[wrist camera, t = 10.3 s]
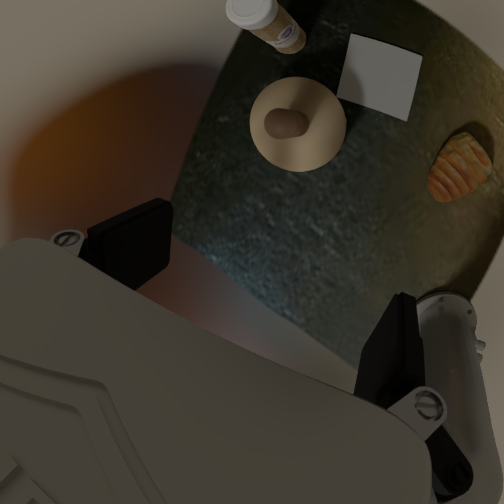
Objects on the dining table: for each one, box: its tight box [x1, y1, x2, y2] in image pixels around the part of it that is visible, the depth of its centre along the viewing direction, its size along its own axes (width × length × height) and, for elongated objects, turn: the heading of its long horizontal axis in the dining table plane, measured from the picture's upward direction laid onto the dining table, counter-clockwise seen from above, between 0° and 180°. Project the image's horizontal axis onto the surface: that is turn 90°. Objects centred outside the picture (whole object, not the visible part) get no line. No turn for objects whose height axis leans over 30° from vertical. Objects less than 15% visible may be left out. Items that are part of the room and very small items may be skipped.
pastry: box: [427, 132, 493, 203], centre depth 27 cm, size 9×7×4 cm
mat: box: [336, 34, 422, 121], centre depth 28 cm, size 9×9×1 cm
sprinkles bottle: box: [226, 0, 306, 54], centre depth 24 cm, size 5×5×14 cm
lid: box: [250, 77, 346, 171], centre depth 28 cm, size 11×11×7 cm
